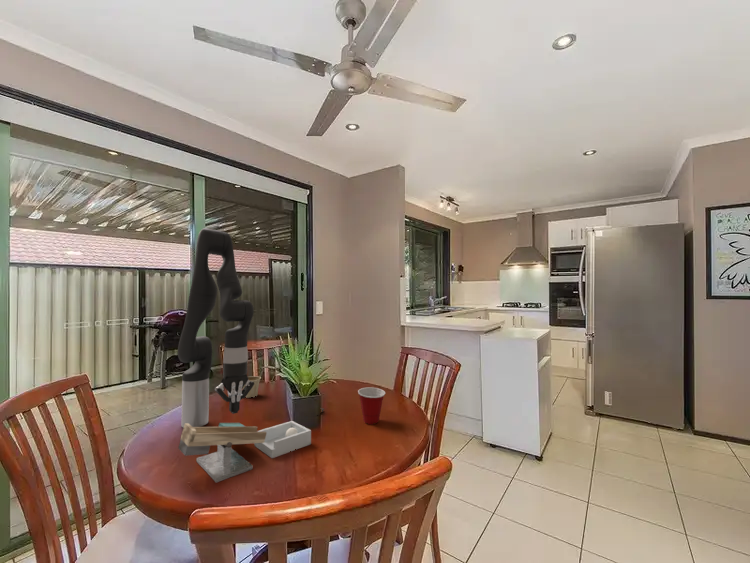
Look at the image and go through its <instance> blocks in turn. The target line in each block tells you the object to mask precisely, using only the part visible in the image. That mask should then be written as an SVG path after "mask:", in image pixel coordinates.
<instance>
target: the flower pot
mask: <svg viewBox="0 0 750 563" xmlns="http://www.w3.org/2000/svg"><path fill="white" fill-rule="evenodd" d="M261 379H262V377H261V376H257V375H256V376H255V375H253V376H252V375H250V376H248V380H250V381H252V382H254V385H253V387H252V388H251V390H250V391H249V393H248V394H247V396H246V398H247V399H249V398H251V397H253V398H256V397H257V396H258V395H259V393H258V392H259V386H260V382H261ZM245 386H246V385H244V387H245ZM244 387H243V388H242V390H243V389H244ZM255 396H256V397H255ZM246 398H245V399H246Z"/></svg>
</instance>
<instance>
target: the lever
mask: <svg viewBox="0 0 750 563" xmlns="http://www.w3.org/2000/svg"><path fill="white" fill-rule="evenodd" d="M258 428H259V427H258V426H255V425H252V426H250V425H249V426H248V425H247V426H246V425H244V424H242V423H240V422H219V423H218V426H201V427H192V426H191V425H190V424H189V423H185V424H184V428H183V427H182V432H181V435H180V440H179V441H180V442H179V444H178V450H179V451H180V453H182V454H183V455H184V457H186V456H187V457H188V456H199V455H200V456H203V455H208V454H210V453H209V452H210V449H211V446H218V445H226V446H227V447H228V448H230V447H231V448H232V446H233V445H245V444H247V445H248V444H250V445H251V444H254V443H264V441H265V437H266V433H267V432H258Z"/></svg>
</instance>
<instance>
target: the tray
mask: <svg viewBox="0 0 750 563" xmlns="http://www.w3.org/2000/svg"><path fill="white" fill-rule="evenodd" d="M289 428H295V429H296V430H297V431H298V433H297V434H294V435H291V436H288V437H286V431H287V430H288V429H289ZM257 432H267V433H266V437H265V441H264V443H253V444H254V447H255V448H257V449H258V450H260V451H261V452H262V453H263V454H265V455H266V456H268V457H269V458H271V459H274V458H277V457H280V456H283V455H285V454H288V453H290V451H291V452H293V451H296V450H298V449H301V448H304V447H308V446H310V445H311V444H312V430H311V429H310V428H308V427H305V426H304V425H301V424H299V423H297V422H296V421H293V420H290V421H287V422H283V423H280V424H276V425H273V426H270V427H266V428H263V429H260V430H257ZM295 449H296V450H295Z"/></svg>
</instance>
